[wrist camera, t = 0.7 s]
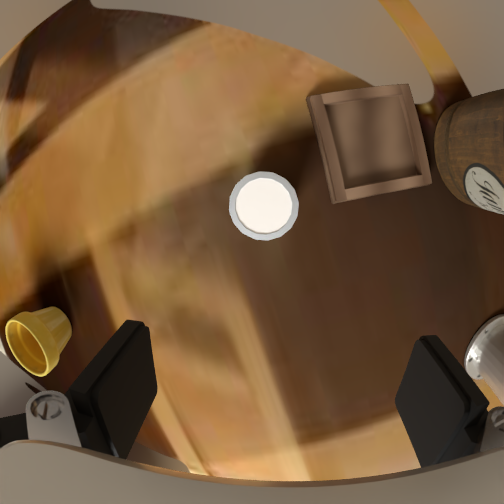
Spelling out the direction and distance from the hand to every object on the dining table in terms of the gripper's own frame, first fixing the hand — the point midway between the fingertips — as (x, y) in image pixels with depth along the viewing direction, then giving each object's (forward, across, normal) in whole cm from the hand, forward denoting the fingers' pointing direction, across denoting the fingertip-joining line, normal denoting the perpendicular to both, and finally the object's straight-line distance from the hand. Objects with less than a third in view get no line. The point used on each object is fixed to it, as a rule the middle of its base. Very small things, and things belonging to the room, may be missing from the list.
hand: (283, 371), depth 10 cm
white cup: (+29, +1, -2) cm, 29 cm away
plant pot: (+30, +36, +20) cm, 51 cm away
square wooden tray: (+28, -11, -11) cm, 32 cm away
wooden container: (+28, -27, -12) cm, 41 cm away
